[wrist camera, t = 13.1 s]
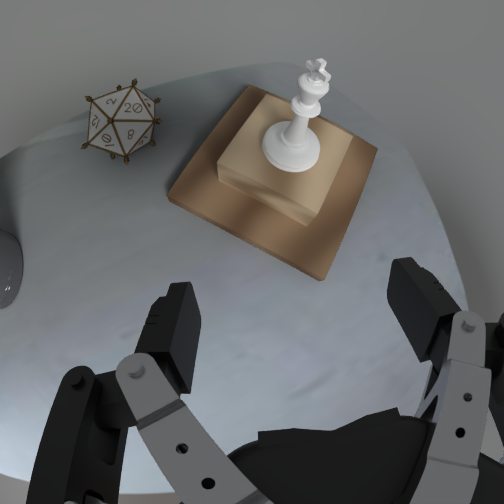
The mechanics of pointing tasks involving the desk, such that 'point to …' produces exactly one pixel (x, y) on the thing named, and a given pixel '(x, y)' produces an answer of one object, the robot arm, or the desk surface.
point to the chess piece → (299, 124)
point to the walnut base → (263, 218)
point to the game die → (121, 121)
